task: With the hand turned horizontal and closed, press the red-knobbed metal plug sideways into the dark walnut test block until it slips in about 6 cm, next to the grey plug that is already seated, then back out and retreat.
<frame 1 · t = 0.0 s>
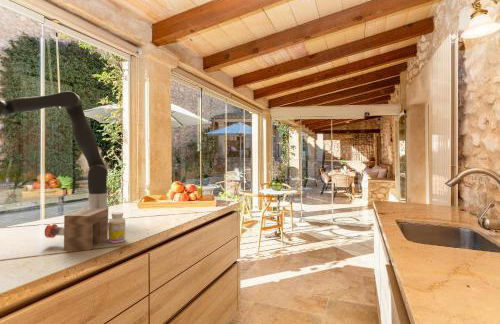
walnut block: (87, 243, 122), on the countertop
supplement bottle: (117, 241, 128), on the countertop
red plug: (65, 231, 120), point 6 cm above the countertop, slide at 0.0 cm
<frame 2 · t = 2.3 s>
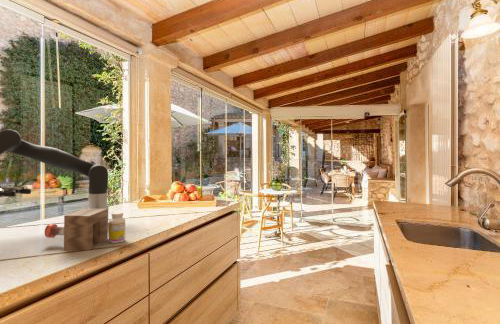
hand: (22, 192, 119), 22 cm above the countertop, tool horizontal, fingers open, 8 cm apart
nothing on the countertop moved.
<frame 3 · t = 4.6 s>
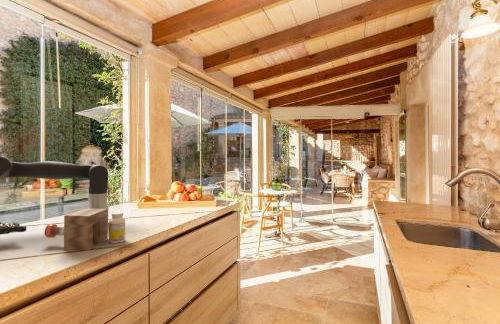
hand: (25, 229, 120), 7 cm above the countertop, tool horizontal, fingers closed
nothing on the countertop moved.
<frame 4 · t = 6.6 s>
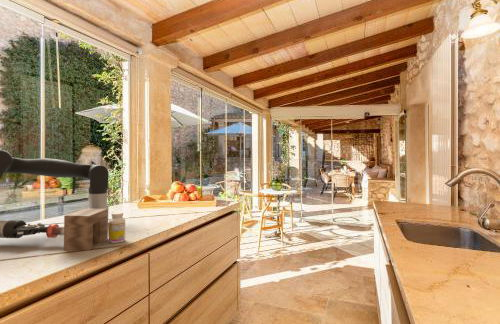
hand: (50, 229, 120), 6 cm above the countertop, tool horizontal, fingers closed
red plug: (67, 231, 120), point 6 cm above the countertop, slide at 0.6 cm, touching gripper
everything else where it was.
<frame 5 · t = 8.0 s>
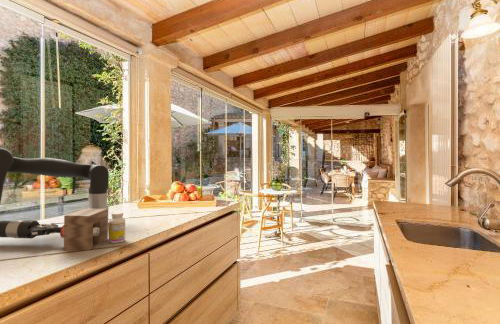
hand: (64, 229, 120), 6 cm above the countertop, tool horizontal, fingers closed
red plug: (80, 231, 120), point 6 cm above the countertop, slide at 6.4 cm, touching gripper
everything else where it was.
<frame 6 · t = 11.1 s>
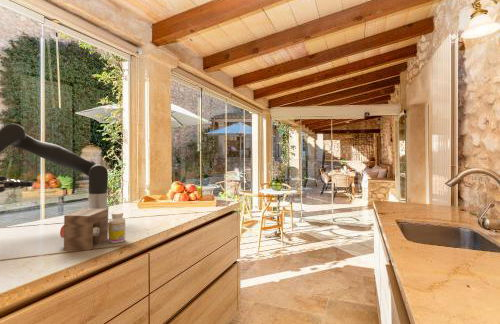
hand: (31, 184, 123), 25 cm above the countertop, tool horizontal, fingers closed
red plug: (80, 231, 120), point 6 cm above the countertop, slide at 6.4 cm
everything else where it was.
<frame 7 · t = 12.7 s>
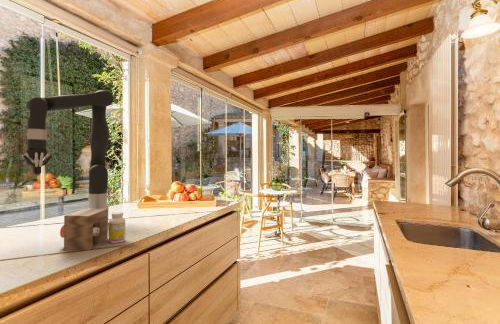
hand: (37, 174, 136), 29 cm above the countertop, tool pointing down, fingers closed
nothing on the countertop moved.
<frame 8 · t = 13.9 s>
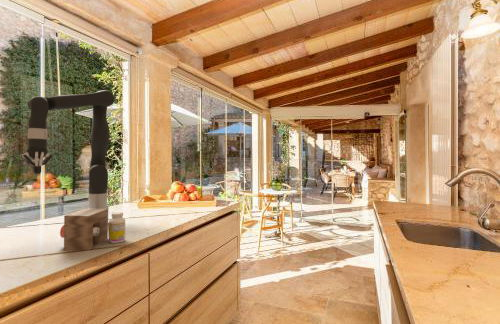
hand: (37, 173, 136), 29 cm above the countertop, tool pointing down, fingers closed
nothing on the countertop moved.
at the end: red plug slide at 6.4 cm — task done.
